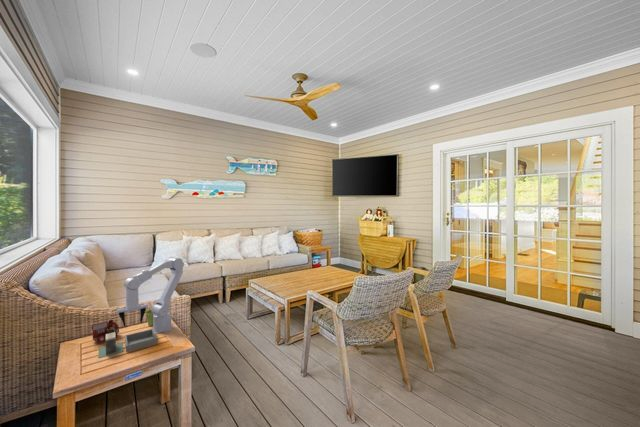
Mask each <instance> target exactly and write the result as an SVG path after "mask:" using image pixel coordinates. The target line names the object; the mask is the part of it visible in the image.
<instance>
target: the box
mask: <svg viewBox="0 0 640 427" xmlns="http://www.w3.org/2000/svg"><path fill="white" fill-rule="evenodd" d="M116 338H117V337H115V332H114V333H109V334H106V340H105V346H106V355H107V354H111V353H114V352H116V344H117V340H116Z"/></svg>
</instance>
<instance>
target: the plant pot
mask: <svg viewBox="0 0 640 427" xmlns="http://www.w3.org/2000/svg"><path fill="white" fill-rule="evenodd" d="M144 315H145V316H146V319H147V324H148V326H149V327H153V313H152V312H151V308H150V309H148V310H146V312H145V314H144Z"/></svg>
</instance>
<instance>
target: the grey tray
mask: <svg viewBox="0 0 640 427" xmlns="http://www.w3.org/2000/svg"><path fill="white" fill-rule="evenodd" d="M153 329H154V328H150V329H146V330H142V331H138V332H133V333H130V334H129V333H128V334H125V335H124V344H125V352H126V353H127V352H133V351H135V350H140V349H143V348H146V347H151V346H155V345H157V344H158V337H157V335H156V334H155V332H154V330H153Z"/></svg>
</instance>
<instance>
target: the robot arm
mask: <svg viewBox="0 0 640 427" xmlns="http://www.w3.org/2000/svg"><path fill="white" fill-rule="evenodd" d="M184 265H185V262H184V259H182V258H178V257H173V256H170V257H168V258H165V259H164V260H163V261H161V262H160V263H158V264H157V265H155V266H154V267H152V268H150V269H144V270H141V272H139V273H138V274H136V275H135V274H134V275H133V276H132V277H128V278H127V279H126V280H125V281H124V283H123V286H124V288H125V304H126V305H125V307H122V308H120V309H116V310H115V312H116V315H118V317H119V318H120V319H121V322H122V324H123V327H126V317H125V316H126V315H125V313H130V312H134V311H139V314H140V316H139V323H140V324H141V323H142V322H143V319H144V316H145V315H146V314H145V312H146V311H147V309H148V310H149V305H148V303H147V304H140V302H139V287H140V286H141V285H142V284H144V283H146V282H148V281H149V280H150V279H152V277H153V276H154V275H155V274H157V273H159V272H161V271H162V270H165V269H169V270H170V271H171V275H170V278H169V280H168V282H166V283H167V284H166V285H165V288H164V289H163V292H162V294H161V296H160V298H158V299H157V300H156V301H155V303H154V304H153V305H152V306H151V308H150V309H151V312H152V313H153V326H152V327H153V328H152V329H153V330H154V332H155V335H156V334H160V333H163V332H168V331H171V330H172V328H173V327H172V315H171V313H169V312H170V306H171V302H170V301H171V299H172V297H173V295H174V292H175V290H176V288H177V286H178V283H179V282H180V280H181V278H182V275H183V272H184Z"/></svg>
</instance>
